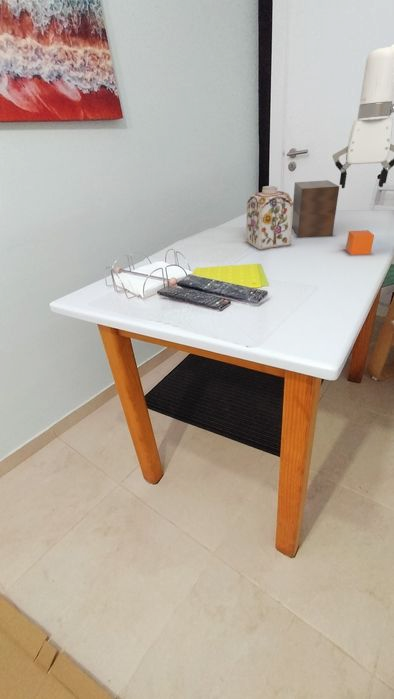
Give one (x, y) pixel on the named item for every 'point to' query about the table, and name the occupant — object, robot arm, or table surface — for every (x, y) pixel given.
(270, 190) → the decorative jar
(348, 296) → the table surface
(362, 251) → the cube
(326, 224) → the wooden grain block
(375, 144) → the robot arm
